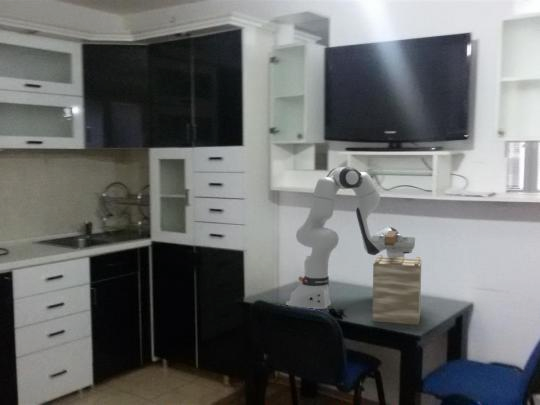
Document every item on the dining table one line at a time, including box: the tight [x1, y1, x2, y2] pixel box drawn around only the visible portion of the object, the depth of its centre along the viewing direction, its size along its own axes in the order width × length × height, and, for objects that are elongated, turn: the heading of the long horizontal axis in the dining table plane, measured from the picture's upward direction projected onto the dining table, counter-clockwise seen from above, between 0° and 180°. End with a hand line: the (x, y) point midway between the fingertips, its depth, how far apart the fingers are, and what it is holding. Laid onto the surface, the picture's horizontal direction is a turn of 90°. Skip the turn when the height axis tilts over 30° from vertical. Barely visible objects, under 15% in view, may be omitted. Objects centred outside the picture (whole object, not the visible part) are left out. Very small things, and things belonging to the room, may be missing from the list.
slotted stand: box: [371, 254, 422, 326], centre depth 255 cm, size 16×20×27 cm
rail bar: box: [385, 231, 399, 246], centre depth 259 cm, size 20×4×4 cm, turn 163°
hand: (392, 235), depth 265 cm, fingers closed on rail bar, 4 cm apart
